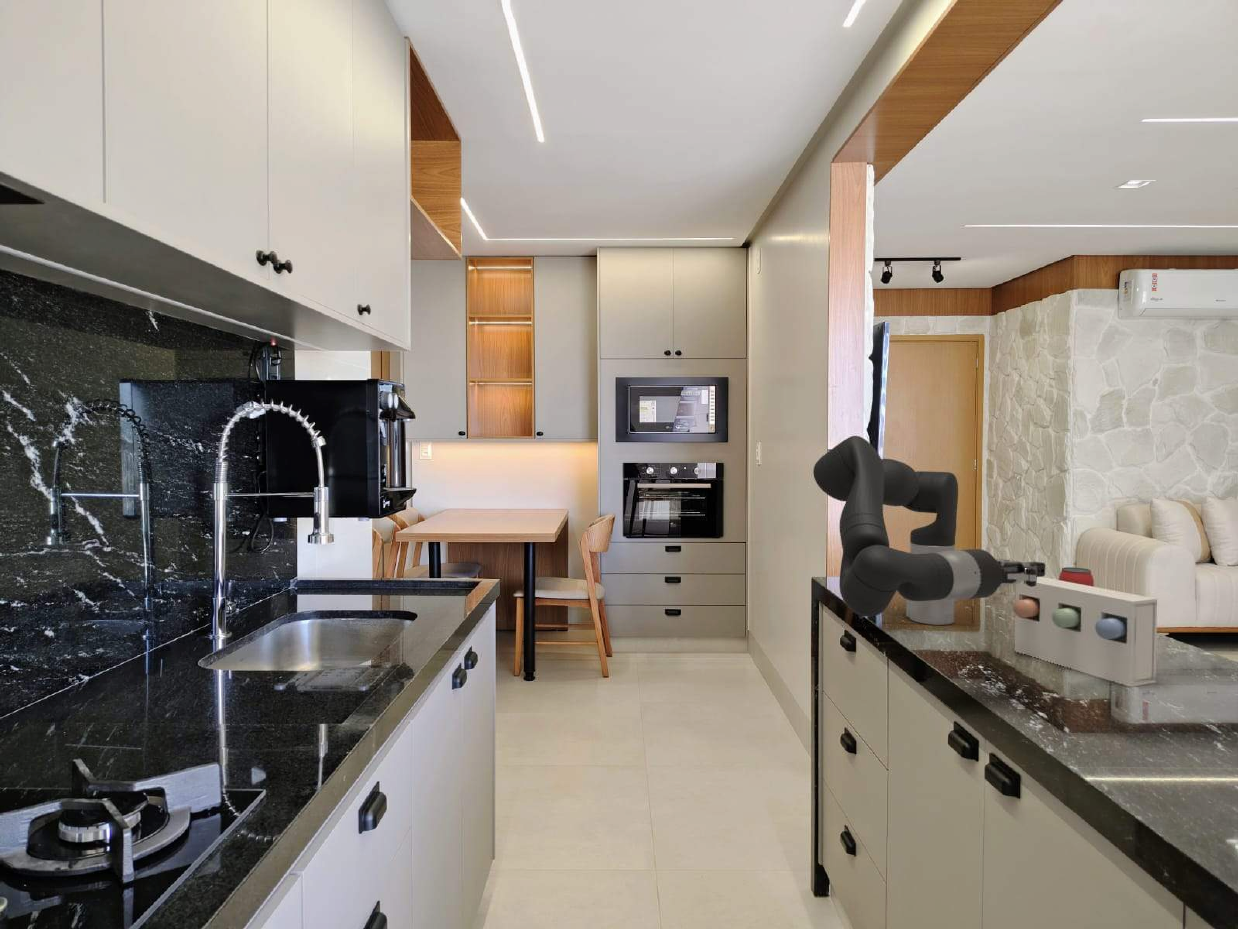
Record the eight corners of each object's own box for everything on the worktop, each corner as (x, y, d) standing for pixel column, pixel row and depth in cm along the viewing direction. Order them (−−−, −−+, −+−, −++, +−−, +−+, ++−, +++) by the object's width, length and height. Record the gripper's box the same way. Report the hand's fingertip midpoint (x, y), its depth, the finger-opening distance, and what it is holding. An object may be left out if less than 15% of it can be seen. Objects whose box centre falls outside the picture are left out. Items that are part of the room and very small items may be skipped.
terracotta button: (1013, 615, 140) (1013, 598, 140) (1027, 614, 141) (1027, 597, 141) (1028, 619, 137) (1028, 602, 137) (1042, 617, 138) (1042, 600, 138)
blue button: (1095, 636, 125) (1095, 617, 125) (1110, 634, 126) (1110, 615, 126) (1114, 641, 122) (1114, 621, 122) (1129, 639, 123) (1129, 619, 123)
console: (1014, 651, 142) (1015, 578, 142) (1037, 648, 144) (1038, 576, 144) (1130, 687, 122) (1132, 601, 121) (1155, 682, 124) (1157, 598, 123)
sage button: (1051, 625, 132) (1052, 607, 132) (1066, 623, 134) (1066, 605, 134) (1068, 629, 129) (1068, 611, 129) (1083, 627, 131) (1083, 609, 131)
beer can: (1060, 625, 162) (1061, 570, 162) (1055, 619, 168) (1056, 566, 168) (1096, 628, 159) (1097, 572, 159) (1089, 621, 166) (1090, 567, 165)
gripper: (995, 556, 108) (1079, 551, 115) (927, 545, 121) (1006, 540, 127) (994, 607, 108) (1078, 599, 115) (926, 591, 121) (1006, 585, 127)
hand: (1040, 568), depth 121 cm, fingers closed
